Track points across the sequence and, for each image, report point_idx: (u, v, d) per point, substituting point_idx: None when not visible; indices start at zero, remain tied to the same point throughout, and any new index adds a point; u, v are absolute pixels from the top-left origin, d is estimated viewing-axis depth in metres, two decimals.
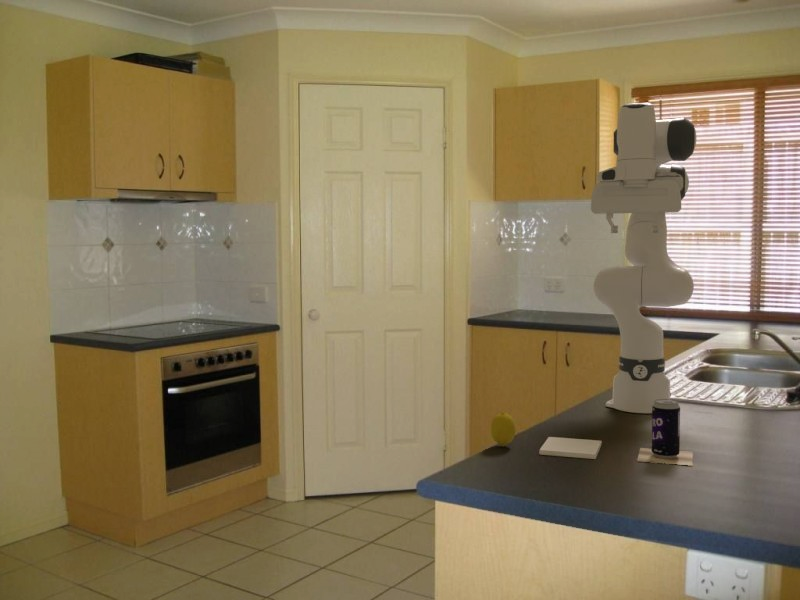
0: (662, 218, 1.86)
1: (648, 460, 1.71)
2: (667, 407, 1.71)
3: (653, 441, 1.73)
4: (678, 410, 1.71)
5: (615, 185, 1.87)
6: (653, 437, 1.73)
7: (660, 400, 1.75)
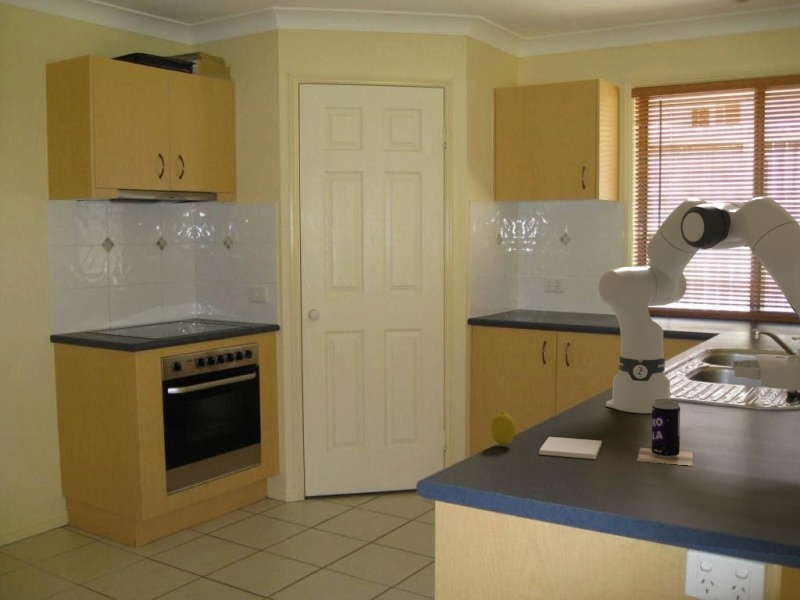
0: None
1: (648, 460, 1.71)
2: (667, 407, 1.71)
3: (653, 441, 1.73)
4: (678, 410, 1.71)
5: None
6: (653, 437, 1.73)
7: (660, 400, 1.75)
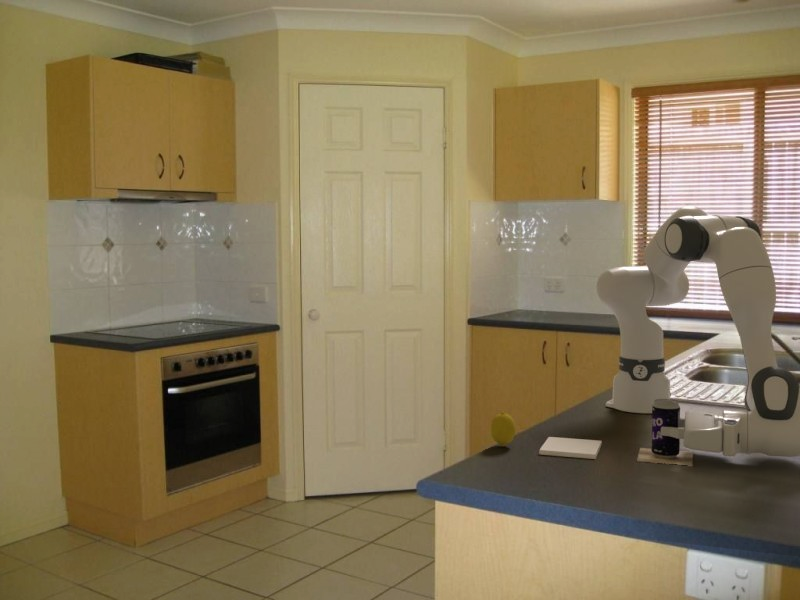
0: None
1: (648, 460, 1.71)
2: (667, 407, 1.71)
3: (653, 441, 1.73)
4: (678, 410, 1.71)
5: None
6: (653, 437, 1.73)
7: (660, 400, 1.75)
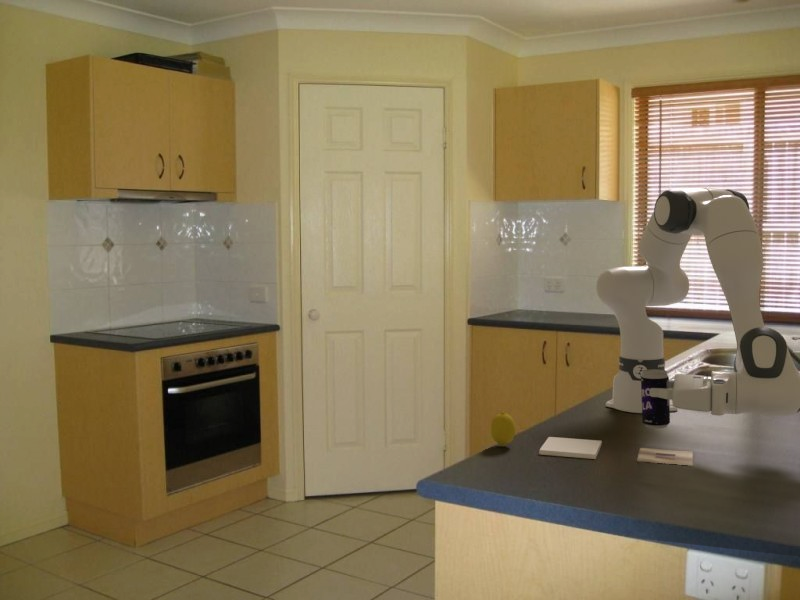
0: None
1: (648, 460, 1.71)
2: (655, 376, 1.71)
3: (643, 412, 1.74)
4: (666, 379, 1.72)
5: None
6: (643, 408, 1.74)
7: (649, 371, 1.75)
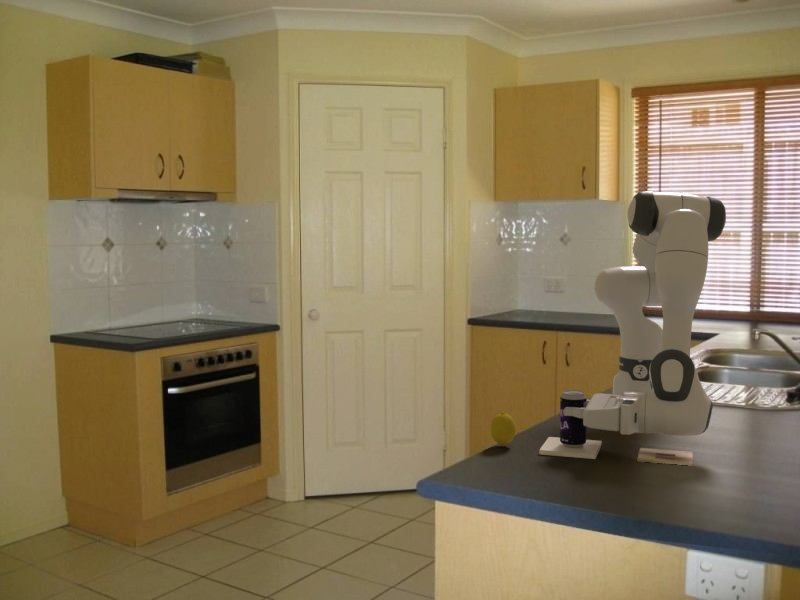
0: None
1: (648, 460, 1.71)
2: (573, 398, 1.77)
3: (561, 431, 1.80)
4: (584, 401, 1.78)
5: None
6: (561, 427, 1.80)
7: (568, 391, 1.81)
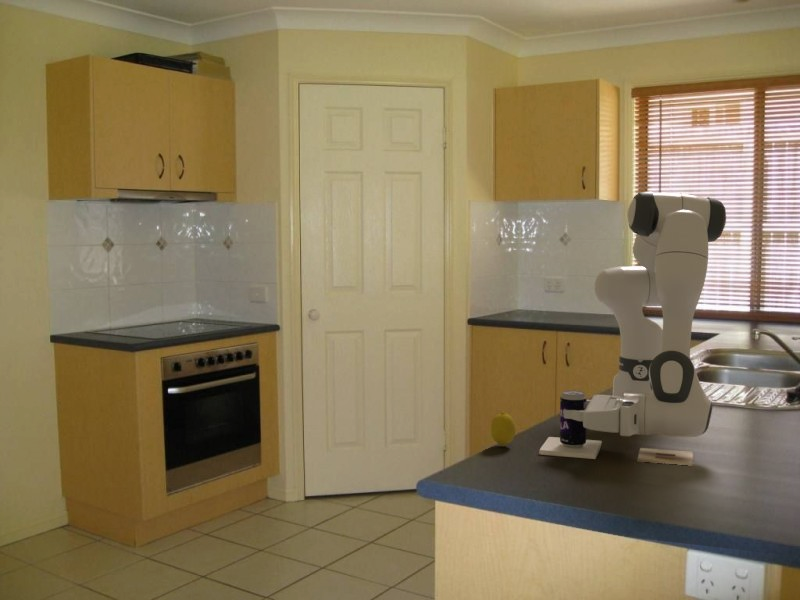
0: None
1: (648, 460, 1.71)
2: (573, 398, 1.77)
3: (561, 431, 1.80)
4: (584, 401, 1.78)
5: None
6: (561, 427, 1.80)
7: (568, 391, 1.81)
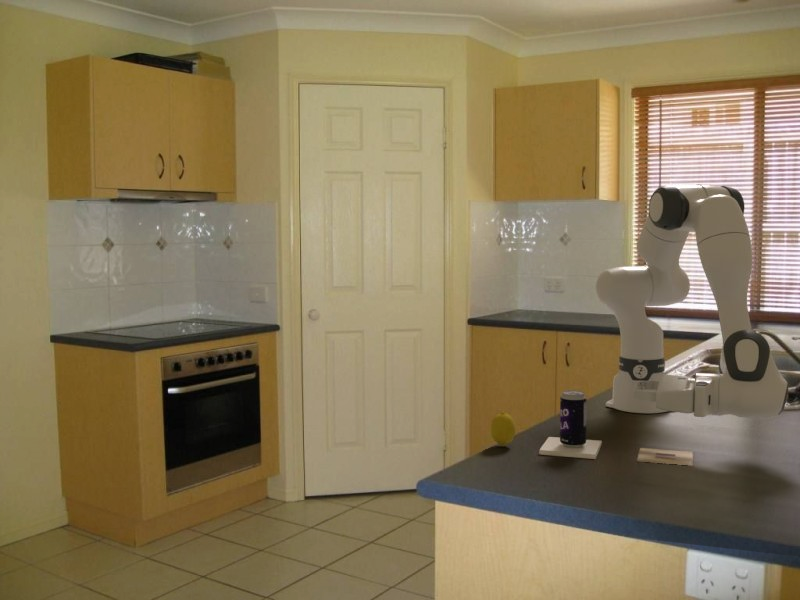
0: None
1: (648, 460, 1.71)
2: (573, 398, 1.77)
3: (561, 431, 1.80)
4: (584, 401, 1.78)
5: None
6: (561, 427, 1.80)
7: (568, 391, 1.81)
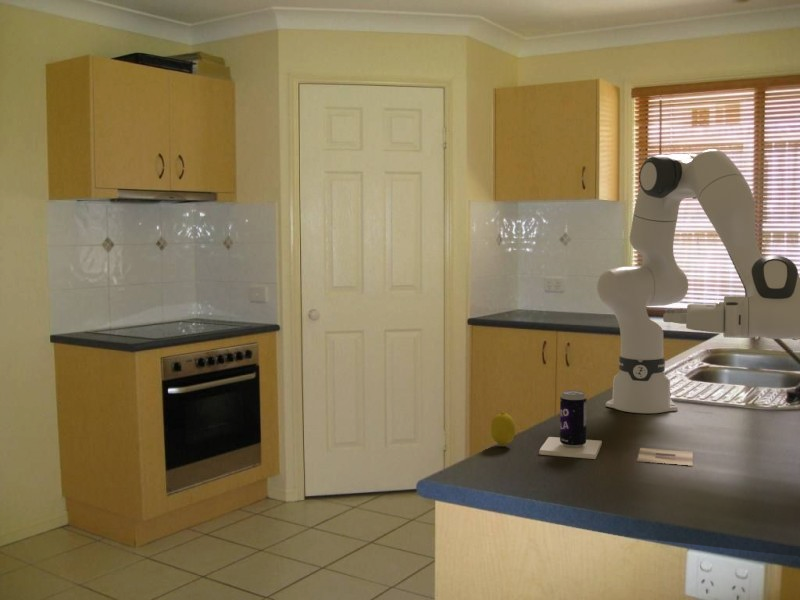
0: None
1: (648, 460, 1.71)
2: (573, 398, 1.77)
3: (561, 431, 1.80)
4: (584, 401, 1.78)
5: None
6: (561, 427, 1.80)
7: (568, 391, 1.81)
